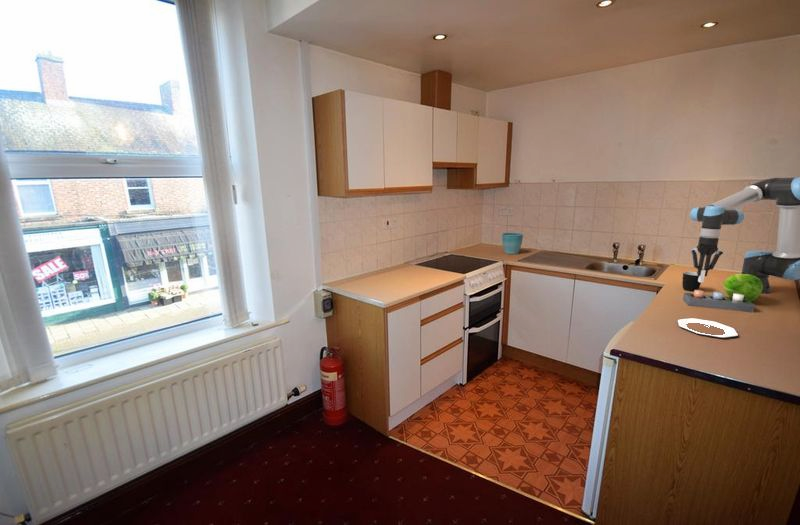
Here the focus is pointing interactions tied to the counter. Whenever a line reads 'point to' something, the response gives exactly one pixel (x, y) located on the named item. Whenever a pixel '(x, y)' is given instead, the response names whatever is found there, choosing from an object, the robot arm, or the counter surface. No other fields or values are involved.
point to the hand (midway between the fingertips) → (700, 281)
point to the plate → (728, 330)
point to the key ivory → (738, 297)
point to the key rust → (698, 293)
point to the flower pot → (512, 242)
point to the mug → (690, 281)
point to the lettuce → (743, 286)
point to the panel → (718, 303)
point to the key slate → (718, 295)
